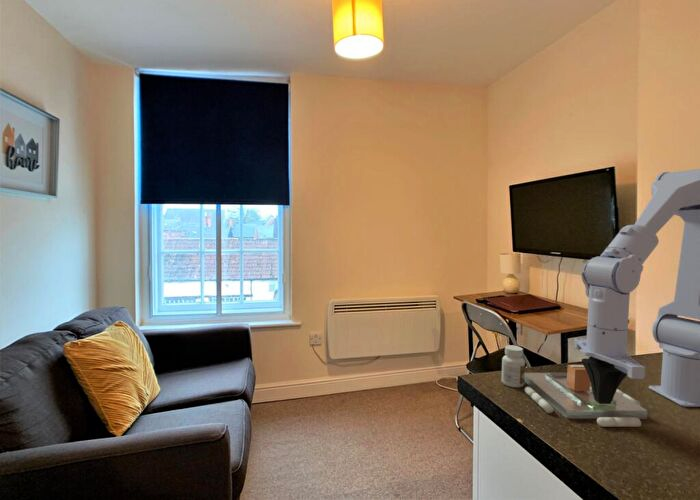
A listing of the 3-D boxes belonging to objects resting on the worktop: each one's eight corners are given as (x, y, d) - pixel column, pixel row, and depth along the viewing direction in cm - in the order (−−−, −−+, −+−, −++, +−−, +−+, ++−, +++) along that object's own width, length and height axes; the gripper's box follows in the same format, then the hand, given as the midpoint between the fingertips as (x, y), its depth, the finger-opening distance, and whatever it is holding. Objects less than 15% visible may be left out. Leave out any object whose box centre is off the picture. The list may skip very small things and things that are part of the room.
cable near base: (603, 385, 76) (603, 379, 76) (640, 408, 66) (640, 401, 66) (596, 385, 76) (596, 379, 76) (632, 408, 66) (633, 401, 66)
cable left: (634, 423, 61) (634, 415, 61) (640, 428, 60) (641, 420, 60) (594, 423, 61) (595, 415, 61) (600, 428, 60) (600, 420, 60)
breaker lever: (581, 385, 72) (582, 363, 72) (589, 390, 69) (590, 368, 69) (566, 385, 72) (567, 363, 72) (574, 390, 69) (575, 368, 69)
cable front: (530, 392, 73) (530, 385, 73) (553, 413, 64) (553, 405, 64) (523, 392, 73) (523, 385, 73) (545, 413, 64) (545, 405, 64)
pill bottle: (526, 389, 74) (528, 352, 74) (503, 386, 75) (505, 350, 74) (521, 380, 78) (522, 345, 78) (499, 378, 79) (500, 343, 79)
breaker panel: (586, 379, 79) (586, 370, 79) (646, 419, 63) (647, 407, 63) (522, 379, 79) (522, 370, 79) (566, 418, 63) (567, 406, 63)
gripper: (559, 315, 70) (556, 383, 71) (614, 338, 56) (609, 424, 57) (595, 315, 70) (592, 384, 71) (660, 339, 56) (654, 424, 57)
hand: (602, 402), depth 64 cm, fingers closed
